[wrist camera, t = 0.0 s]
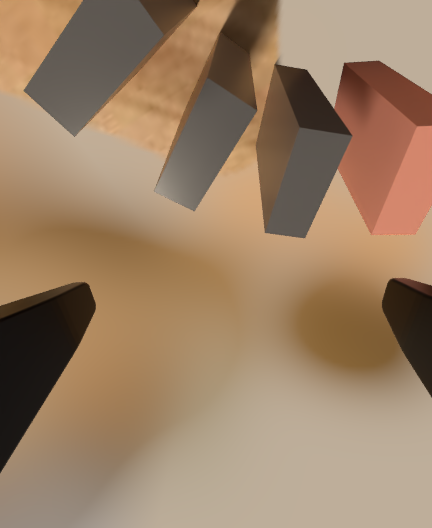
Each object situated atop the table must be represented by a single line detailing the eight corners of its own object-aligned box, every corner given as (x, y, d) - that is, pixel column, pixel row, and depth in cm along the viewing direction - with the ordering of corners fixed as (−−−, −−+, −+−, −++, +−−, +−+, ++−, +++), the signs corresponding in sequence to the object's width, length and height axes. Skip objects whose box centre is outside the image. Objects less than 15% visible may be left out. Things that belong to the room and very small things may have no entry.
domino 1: (111, 41, 17) (23, 90, 10) (171, -36, 15) (109, -41, 8) (137, 72, 18) (74, 136, 11) (196, 6, 16) (164, 34, 9)
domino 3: (255, 145, 21) (264, 232, 14) (274, 64, 17) (299, 127, 10) (282, 149, 21) (304, 238, 14) (306, 69, 17) (352, 135, 10)
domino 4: (326, 145, 21) (371, 235, 14) (344, 62, 17) (417, 126, 10) (355, 144, 20) (415, 234, 14) (379, 60, 17) (477, 124, 10)
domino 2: (183, 112, 20) (153, 191, 13) (220, 31, 16) (207, 77, 9) (209, 128, 20) (194, 211, 13) (249, 53, 17) (256, 110, 10)
